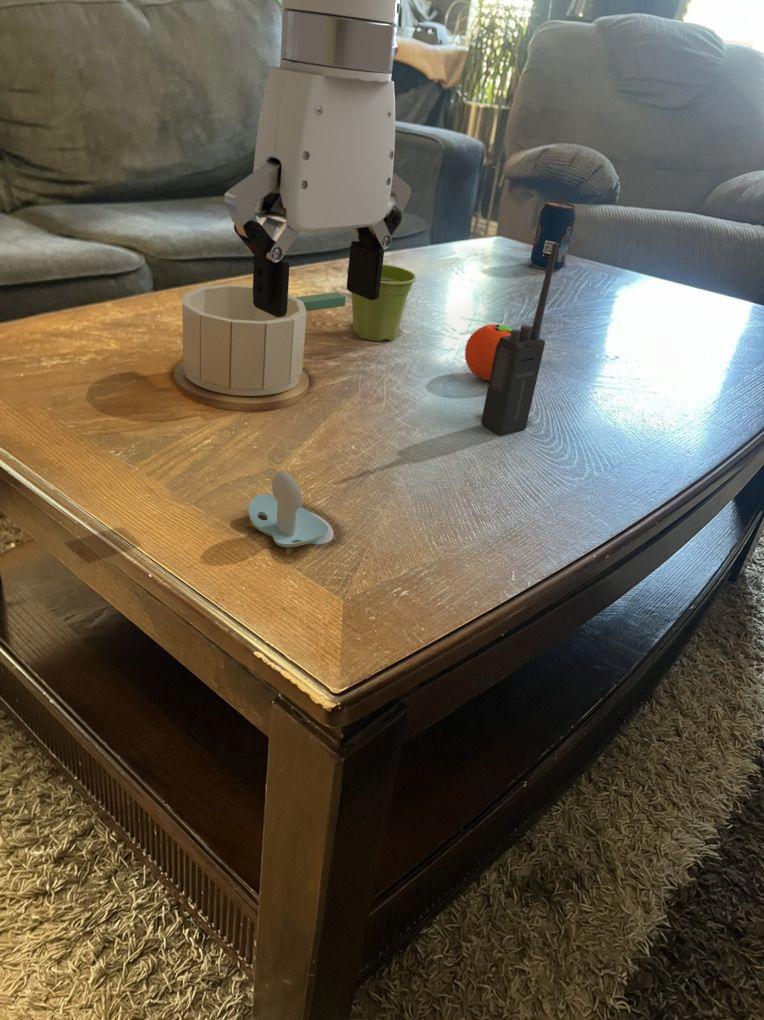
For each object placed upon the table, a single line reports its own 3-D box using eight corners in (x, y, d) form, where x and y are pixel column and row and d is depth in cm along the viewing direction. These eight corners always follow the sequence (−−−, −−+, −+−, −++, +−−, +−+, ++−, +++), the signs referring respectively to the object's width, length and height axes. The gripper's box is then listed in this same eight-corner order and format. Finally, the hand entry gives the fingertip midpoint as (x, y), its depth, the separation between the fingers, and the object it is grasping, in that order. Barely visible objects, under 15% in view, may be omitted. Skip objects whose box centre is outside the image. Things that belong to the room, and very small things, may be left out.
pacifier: (294, 507, 67) (237, 526, 63) (301, 442, 64) (242, 458, 60) (351, 547, 63) (294, 570, 59) (362, 479, 60) (302, 499, 56)
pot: (369, 373, 92) (377, 307, 88) (224, 404, 80) (225, 329, 76) (303, 337, 100) (308, 275, 96) (161, 361, 88) (159, 290, 83)
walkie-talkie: (506, 416, 89) (546, 238, 79) (527, 428, 87) (571, 246, 77) (476, 423, 87) (514, 239, 76) (497, 436, 85) (539, 248, 74)
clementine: (518, 372, 102) (529, 320, 99) (526, 393, 96) (539, 338, 93) (458, 365, 102) (467, 312, 98) (462, 386, 96) (473, 330, 92)
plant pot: (332, 338, 105) (338, 273, 100) (351, 319, 113) (357, 258, 108) (399, 351, 104) (408, 287, 99) (413, 331, 112) (422, 270, 107)
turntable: (222, 422, 79) (223, 413, 79) (149, 371, 88) (148, 362, 88) (335, 394, 89) (335, 386, 88) (258, 351, 97) (258, 343, 97)
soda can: (531, 260, 160) (545, 198, 154) (565, 266, 159) (580, 205, 152) (526, 266, 154) (540, 203, 148) (561, 273, 153) (576, 210, 147)
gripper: (386, 54, 60) (362, 278, 68) (194, 32, 48) (196, 303, 57) (461, 66, 55) (426, 302, 64) (272, 45, 44) (260, 335, 53)
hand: (318, 303), depth 61 cm, fingers open, 9 cm apart
